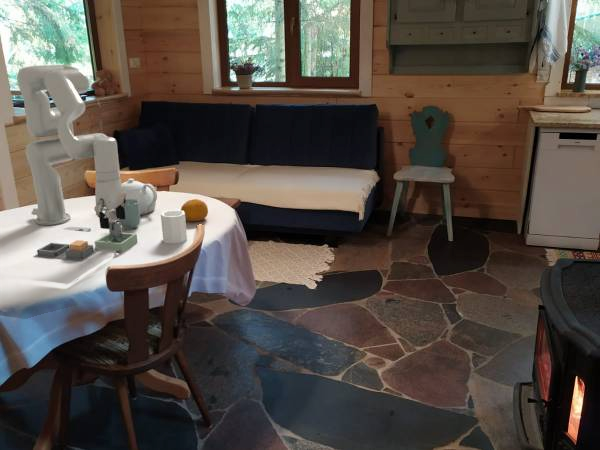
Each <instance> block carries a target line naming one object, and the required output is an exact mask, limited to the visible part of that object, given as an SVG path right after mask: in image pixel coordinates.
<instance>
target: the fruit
mask: <svg viewBox="0 0 600 450" xmlns="http://www.w3.org/2000/svg"><path fill="white" fill-rule="evenodd" d="M180 210H182V211H184V213H185V219H186V221H188V222H200V221H202V220H204V219H206V218H207V216H208V213H209V209H208V205H207V203H205V201H203V200H201V199H198V198H197V199H196V198H194V199H193V198H192V199H190V200H189V199H188V200H187V201H186V202H184V204H182V206H181V207H180Z"/></svg>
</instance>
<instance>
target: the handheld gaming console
mask: <svg viewBox="0 0 600 450" xmlns="http://www.w3.org/2000/svg"><path fill="white" fill-rule="evenodd" d="M63 230H64V231H75V232H88V233H89V232H91V231H92V229H91V227H84V226H83V227H82V226H81V227H80V226H79V227H77V226H69V227H65V228H63Z"/></svg>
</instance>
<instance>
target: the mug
mask: <svg viewBox="0 0 600 450" xmlns="http://www.w3.org/2000/svg"><path fill="white" fill-rule="evenodd" d="M160 220H161V229H162V230H161V231H162V240H163V241H164V243H165V244H171V245H173V244H182V243H185V242H186V241H188V235H187V222H186V221H187V220H186V219H185V213H184V211H182V210H181V209H170V210H165V211H163V212H161V213H160Z"/></svg>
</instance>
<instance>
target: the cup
mask: <svg viewBox="0 0 600 450" xmlns="http://www.w3.org/2000/svg"><path fill="white" fill-rule="evenodd" d="M117 208H118V207H117ZM118 221H120V222H121V228H124V229H125V230H133V229H136V228H137V227H138V226H139V225H140V223H141V215H140V207H139V201H138V200H134V199H126V202H125V219H124V220H123V219H118Z"/></svg>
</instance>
